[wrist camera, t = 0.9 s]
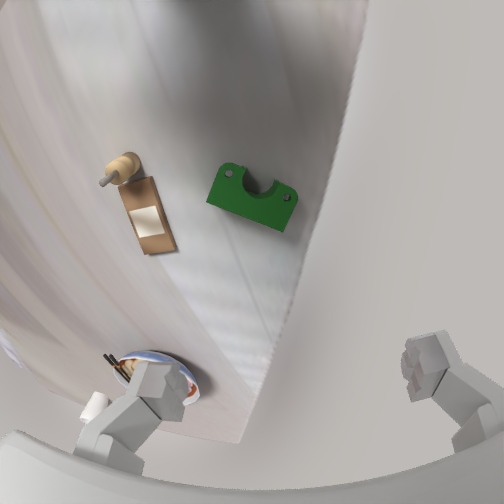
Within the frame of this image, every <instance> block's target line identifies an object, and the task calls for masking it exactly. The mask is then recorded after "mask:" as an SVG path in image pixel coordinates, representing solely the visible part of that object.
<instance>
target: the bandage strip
mask: <svg viewBox="0 0 504 504" xmlns="http://www.w3.org/2000/svg"><path fill="white" fill-rule="evenodd" d="M118 190H119V193H120V195H121V198H122V201H123V203H124V206H125V208H126V211H127V214H128V216H129V219H130V221H131V224H132V226H133V229H134V231H135V234H136V236H137V238H138V241H139V243H140V245H141V248H142V250H143V252H144V255H146V254H153V253H160V252H166V251H173V250H175V249H176V247H177V246H176V244H175V241H174V238H173V235H172V233H171V230H170V227H169V224H168V221H167V219H166V216H165V213H164V210H163V207H162V204H161V201H160V198H159V195H158V192H157V189H156V186H155V183H154V180H153V177H152V176H150V177H146V178H143V179H139V180H135V181H132V182H128V183H125V184H121V185H120V186H119V187H118Z"/></svg>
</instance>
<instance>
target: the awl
mask: <svg viewBox="0 0 504 504" xmlns="http://www.w3.org/2000/svg"><path fill="white" fill-rule="evenodd" d="M140 164H141V163H140V159H139V157H138V156H137V155H136V154H135V153H133V152H127V153H125V154H123V155H122V156H120V157H118V158H117V159H115V160H114V161H112V162H110V163H109V164H108V165H107V167H106V170H105V173H106V177H104V178H103V179H101V180H100V181H99V184H100V186H102V187H104V186H105V185H107V184H108V183H109V182H110V183H112V184H114V185H120V184H122V183H124V182H125V181H126V180H127V179H128V178H130V177H131V176H132V175H133V174H135V173H136V172H137V171H138V170H139V168H140Z"/></svg>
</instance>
